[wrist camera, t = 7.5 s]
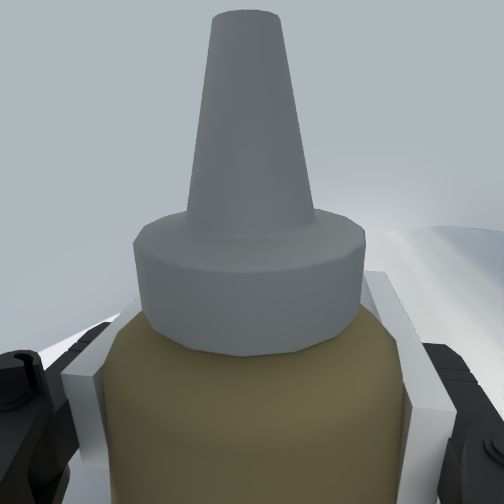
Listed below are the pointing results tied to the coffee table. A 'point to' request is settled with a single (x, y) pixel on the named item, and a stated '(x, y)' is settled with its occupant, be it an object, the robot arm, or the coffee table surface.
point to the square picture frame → (87, 484)
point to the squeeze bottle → (252, 318)
